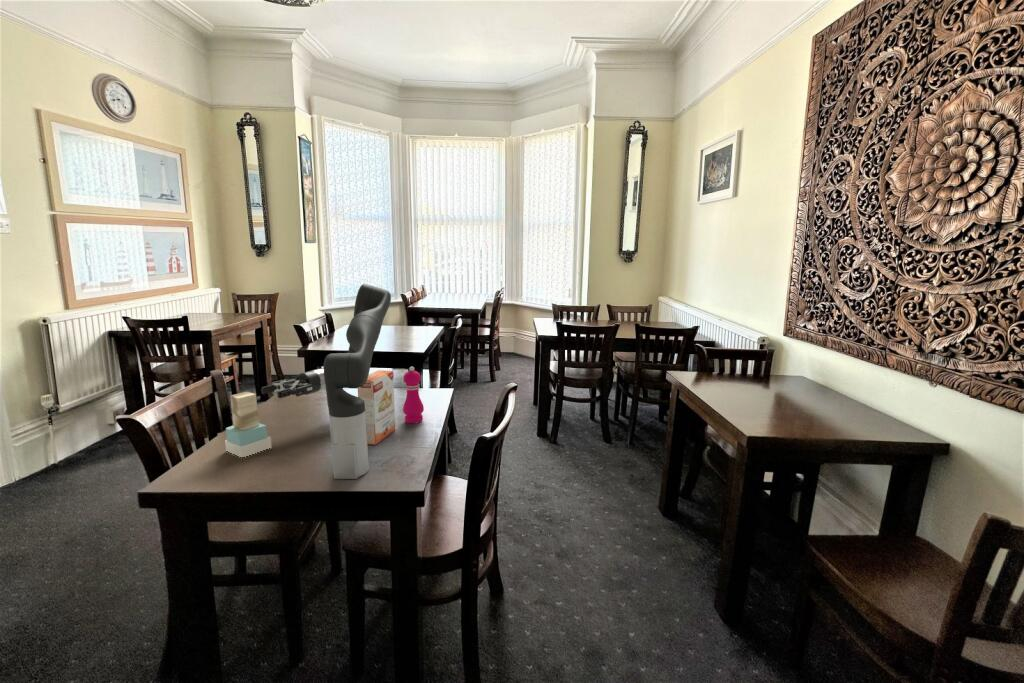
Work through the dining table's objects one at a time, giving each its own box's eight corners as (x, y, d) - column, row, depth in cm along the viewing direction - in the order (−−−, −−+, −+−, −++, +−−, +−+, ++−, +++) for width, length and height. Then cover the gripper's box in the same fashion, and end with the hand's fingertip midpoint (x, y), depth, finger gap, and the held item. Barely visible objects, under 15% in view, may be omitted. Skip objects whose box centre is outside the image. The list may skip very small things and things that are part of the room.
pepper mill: (399, 420, 168) (397, 366, 164) (416, 415, 173) (414, 363, 169) (410, 425, 163) (408, 370, 159) (428, 420, 168) (426, 366, 164)
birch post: (259, 425, 142) (255, 394, 140) (242, 430, 138) (238, 398, 136) (250, 422, 145) (247, 391, 143) (233, 427, 141) (230, 395, 139)
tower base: (271, 449, 145) (270, 437, 144) (242, 459, 137) (240, 447, 137) (255, 442, 150) (254, 431, 149) (226, 452, 142) (224, 440, 141)
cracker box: (377, 446, 146) (373, 381, 142) (359, 444, 147) (355, 380, 144) (397, 429, 160) (394, 370, 156) (380, 428, 161) (377, 369, 157)
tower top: (267, 437, 143) (266, 425, 143) (240, 446, 137) (238, 433, 136) (253, 432, 148) (252, 420, 147) (227, 440, 141) (225, 427, 141)
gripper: (301, 367, 164) (255, 378, 150) (327, 373, 156) (282, 384, 143) (302, 388, 165) (258, 400, 151) (329, 394, 158) (284, 408, 144)
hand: (270, 393), depth 147 cm, fingers open, 8 cm apart
